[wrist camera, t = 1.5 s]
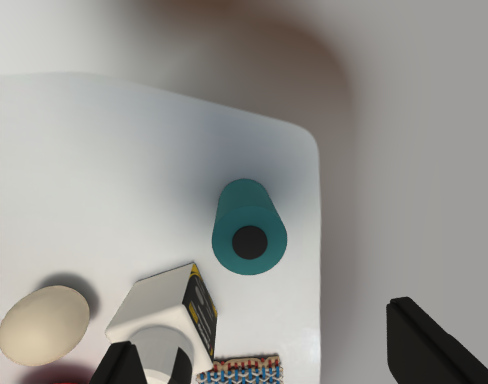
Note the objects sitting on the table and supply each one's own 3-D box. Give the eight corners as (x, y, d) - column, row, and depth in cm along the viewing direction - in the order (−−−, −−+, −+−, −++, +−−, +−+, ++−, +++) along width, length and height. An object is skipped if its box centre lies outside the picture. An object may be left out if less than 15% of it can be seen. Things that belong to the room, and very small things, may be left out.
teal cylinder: (214, 183, 26) (204, 213, 17) (266, 175, 26) (283, 201, 17) (223, 230, 27) (218, 283, 18) (272, 223, 27) (292, 271, 18)
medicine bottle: (218, 313, 29) (208, 435, 18) (160, 332, 30) (114, 464, 18) (195, 261, 28) (167, 359, 16) (134, 281, 28) (63, 392, 16)
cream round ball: (20, 287, 28) (-45, 336, 21) (81, 265, 27) (34, 308, 21) (53, 335, 29) (2, 394, 23) (111, 315, 29) (76, 369, 22)
